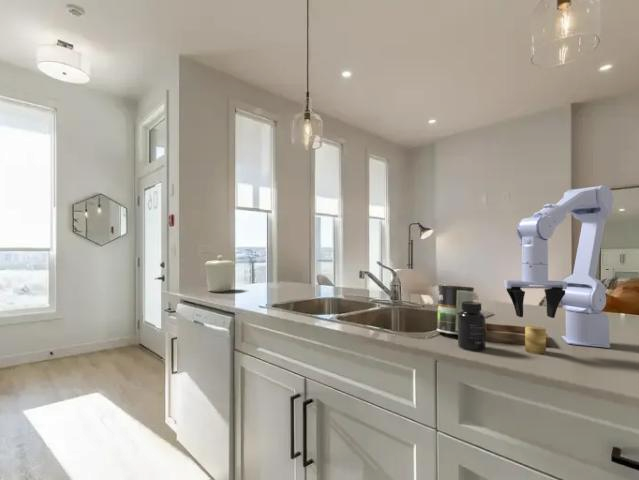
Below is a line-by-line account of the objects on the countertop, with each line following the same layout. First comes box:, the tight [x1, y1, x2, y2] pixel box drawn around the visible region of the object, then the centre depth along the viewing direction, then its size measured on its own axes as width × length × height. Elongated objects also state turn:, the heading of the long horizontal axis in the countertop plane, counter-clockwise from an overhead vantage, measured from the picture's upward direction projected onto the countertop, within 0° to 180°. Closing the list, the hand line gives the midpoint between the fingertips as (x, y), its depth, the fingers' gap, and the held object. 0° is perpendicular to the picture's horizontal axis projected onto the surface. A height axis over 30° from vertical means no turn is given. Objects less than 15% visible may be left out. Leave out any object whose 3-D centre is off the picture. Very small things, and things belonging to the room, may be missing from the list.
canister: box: [203, 254, 236, 293], centre depth 208 cm, size 18×18×21 cm
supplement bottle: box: [457, 301, 487, 352], centre depth 93 cm, size 7×7×12 cm
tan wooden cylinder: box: [524, 325, 547, 355], centre depth 90 cm, size 4×4×6 cm
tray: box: [486, 322, 551, 348], centre depth 102 cm, size 16×12×3 cm
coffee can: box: [436, 284, 475, 336], centre depth 107 cm, size 10×10×14 cm
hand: (535, 316), depth 90 cm, fingers open, 7 cm apart
